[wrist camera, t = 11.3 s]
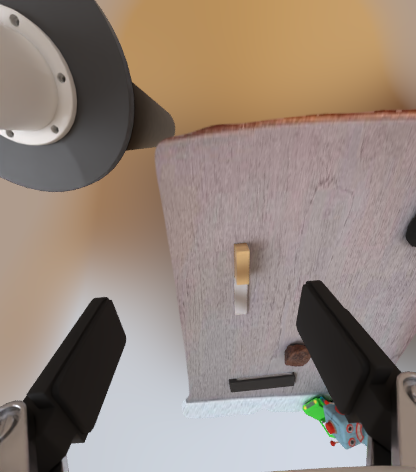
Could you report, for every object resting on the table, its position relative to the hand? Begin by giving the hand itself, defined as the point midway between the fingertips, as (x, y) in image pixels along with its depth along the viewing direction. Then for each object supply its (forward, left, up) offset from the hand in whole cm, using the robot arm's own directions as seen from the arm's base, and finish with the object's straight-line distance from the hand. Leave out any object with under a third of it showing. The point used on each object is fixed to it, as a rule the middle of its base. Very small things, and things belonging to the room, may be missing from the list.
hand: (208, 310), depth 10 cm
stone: (+19, -40, -24) cm, 50 cm away
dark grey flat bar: (+11, -50, -23) cm, 56 cm away
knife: (+6, -18, -23) cm, 30 cm away
